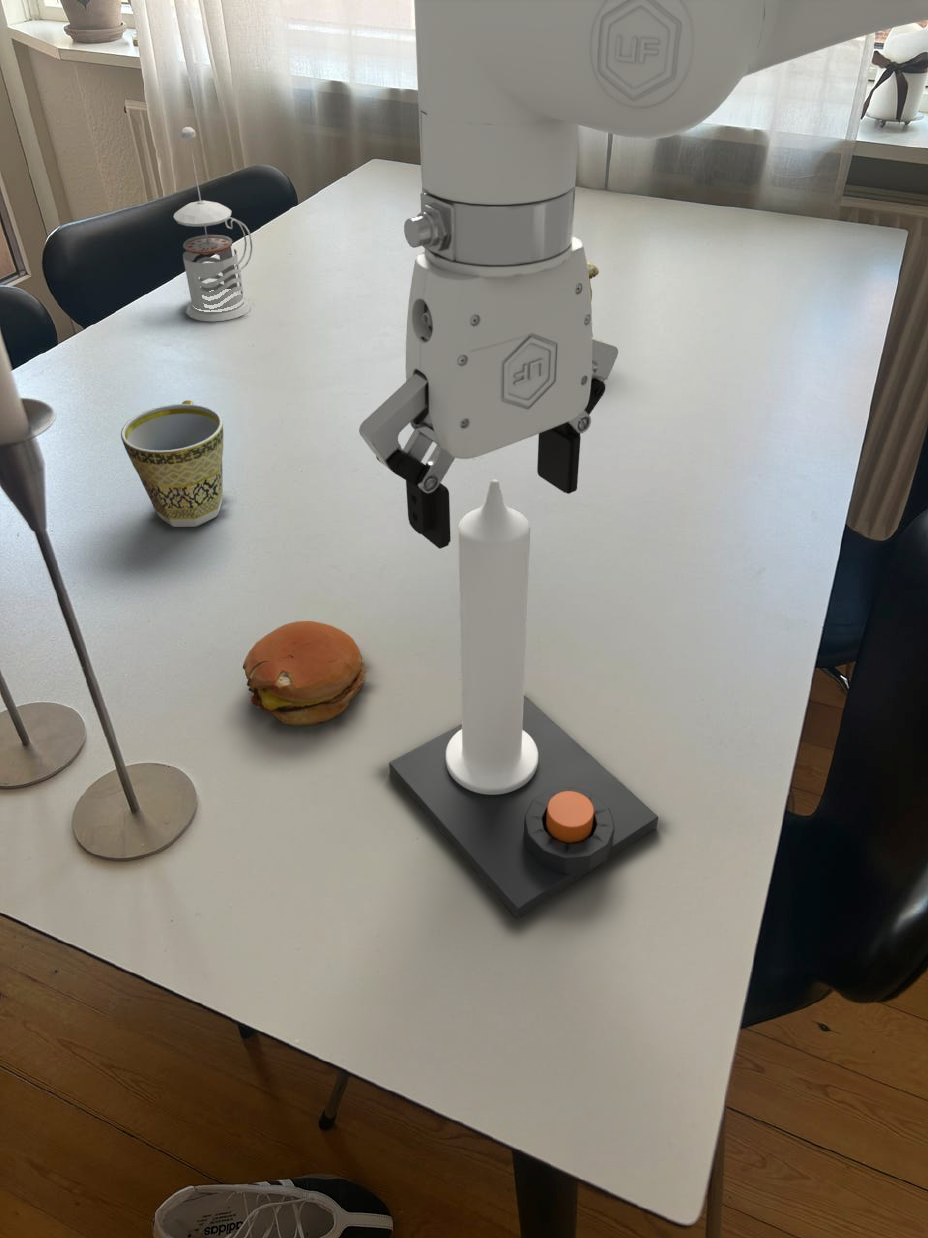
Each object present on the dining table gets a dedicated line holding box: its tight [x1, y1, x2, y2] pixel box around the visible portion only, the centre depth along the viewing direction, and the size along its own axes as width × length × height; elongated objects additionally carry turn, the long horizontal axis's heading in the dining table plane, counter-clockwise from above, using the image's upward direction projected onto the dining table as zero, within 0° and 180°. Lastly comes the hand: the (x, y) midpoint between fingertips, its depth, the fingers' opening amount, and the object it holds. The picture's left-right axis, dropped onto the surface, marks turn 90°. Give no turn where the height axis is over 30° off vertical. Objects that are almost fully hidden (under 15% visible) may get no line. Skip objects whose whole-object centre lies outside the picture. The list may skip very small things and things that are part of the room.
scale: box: [388, 695, 659, 920], centre depth 71 cm, size 16×13×3 cm
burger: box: [242, 620, 366, 727], centre depth 81 cm, size 10×9×5 cm
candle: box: [446, 478, 538, 795], centre depth 66 cm, size 7×7×25 cm
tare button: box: [546, 791, 594, 843], centre depth 67 cm, size 3×3×2 cm
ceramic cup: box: [120, 399, 224, 528], centre depth 101 cm, size 13×10×10 cm
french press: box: [173, 126, 253, 322], centre depth 138 cm, size 10×12×25 cm
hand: (496, 509), depth 59 cm, fingers open, 9 cm apart
